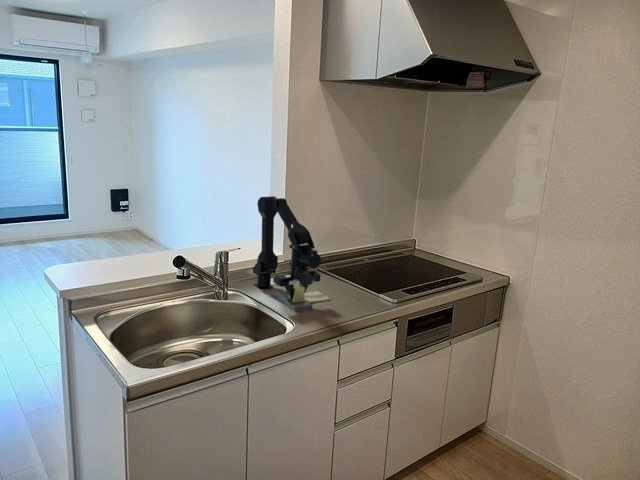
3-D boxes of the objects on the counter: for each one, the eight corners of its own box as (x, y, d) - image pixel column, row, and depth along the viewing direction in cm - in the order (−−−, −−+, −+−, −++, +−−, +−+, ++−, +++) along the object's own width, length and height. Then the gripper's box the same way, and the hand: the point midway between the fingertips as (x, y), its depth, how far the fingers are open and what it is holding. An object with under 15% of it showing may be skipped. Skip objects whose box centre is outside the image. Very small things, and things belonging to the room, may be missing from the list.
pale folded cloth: (296, 295, 206) (297, 293, 206) (316, 291, 212) (316, 290, 212) (309, 303, 198) (309, 302, 198) (329, 299, 204) (330, 298, 204)
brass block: (287, 303, 197) (289, 284, 195) (297, 302, 199) (298, 283, 197) (293, 307, 193) (294, 288, 191) (303, 305, 195) (304, 287, 193)
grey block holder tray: (272, 296, 203) (272, 292, 203) (289, 293, 208) (289, 289, 207) (294, 311, 189) (294, 307, 189) (312, 308, 193) (312, 304, 193)
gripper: (288, 269, 180) (285, 309, 184) (329, 264, 190) (326, 302, 194) (273, 261, 189) (271, 299, 193) (314, 256, 199) (311, 293, 203)
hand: (296, 298), depth 195 cm, fingers open, 5 cm apart
